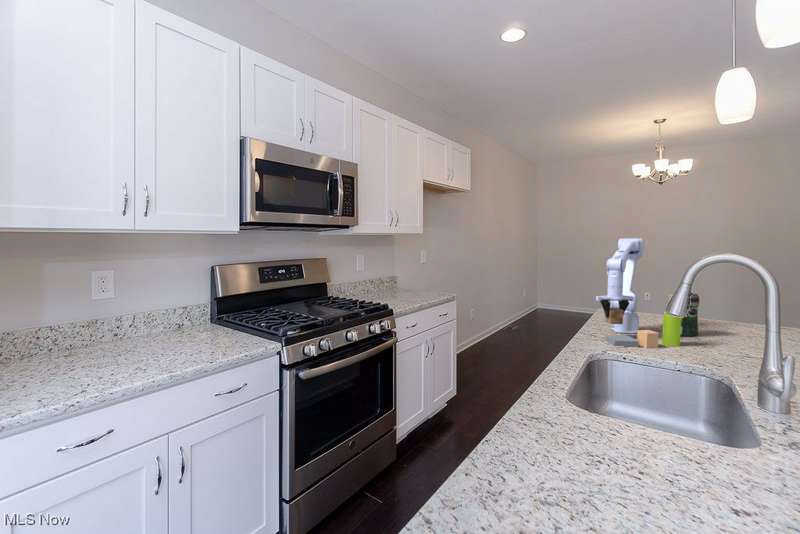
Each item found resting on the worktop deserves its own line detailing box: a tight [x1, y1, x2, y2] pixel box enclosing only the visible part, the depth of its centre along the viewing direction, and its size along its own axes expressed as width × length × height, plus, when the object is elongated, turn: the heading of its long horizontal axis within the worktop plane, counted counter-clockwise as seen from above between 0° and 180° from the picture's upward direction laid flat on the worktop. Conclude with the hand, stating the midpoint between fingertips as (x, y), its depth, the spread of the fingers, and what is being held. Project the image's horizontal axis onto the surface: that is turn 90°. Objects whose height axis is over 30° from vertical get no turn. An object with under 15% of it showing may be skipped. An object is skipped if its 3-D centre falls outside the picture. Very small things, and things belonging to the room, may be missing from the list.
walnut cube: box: [604, 307, 623, 325], centre depth 165 cm, size 5×5×6 cm
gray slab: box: [604, 334, 640, 348], centre depth 156 cm, size 9×9×3 cm
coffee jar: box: [680, 293, 700, 337], centre depth 169 cm, size 10×8×19 cm
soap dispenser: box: [661, 294, 681, 347], centre depth 155 cm, size 6×7×20 cm
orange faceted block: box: [636, 329, 660, 349], centre depth 153 cm, size 5×5×6 cm
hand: (614, 317), depth 165 cm, fingers closed on walnut cube, 5 cm apart
